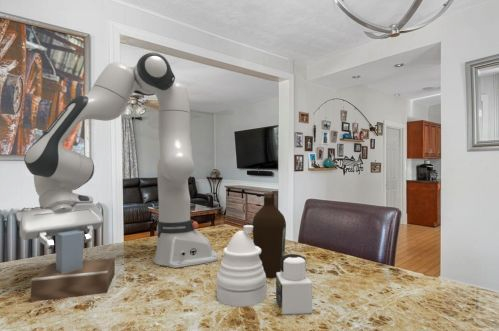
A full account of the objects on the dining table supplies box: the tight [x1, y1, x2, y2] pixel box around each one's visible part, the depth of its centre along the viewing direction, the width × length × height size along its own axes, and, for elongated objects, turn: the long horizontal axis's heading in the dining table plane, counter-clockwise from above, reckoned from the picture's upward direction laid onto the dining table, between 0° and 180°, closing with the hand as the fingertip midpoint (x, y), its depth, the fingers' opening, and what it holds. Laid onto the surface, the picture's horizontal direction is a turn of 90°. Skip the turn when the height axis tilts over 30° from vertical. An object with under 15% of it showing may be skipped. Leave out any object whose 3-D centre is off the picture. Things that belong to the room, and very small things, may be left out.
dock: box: [30, 257, 116, 302], centre depth 80 cm, size 17×14×5 cm
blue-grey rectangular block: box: [55, 230, 84, 274], centre depth 80 cm, size 5×5×10 cm
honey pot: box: [216, 224, 267, 308], centre depth 75 cm, size 13×13×18 cm
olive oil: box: [251, 192, 287, 278], centre depth 91 cm, size 11×11×25 cm
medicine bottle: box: [275, 253, 313, 315], centre depth 68 cm, size 7×7×12 cm
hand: (70, 244), depth 79 cm, fingers open, 8 cm apart
